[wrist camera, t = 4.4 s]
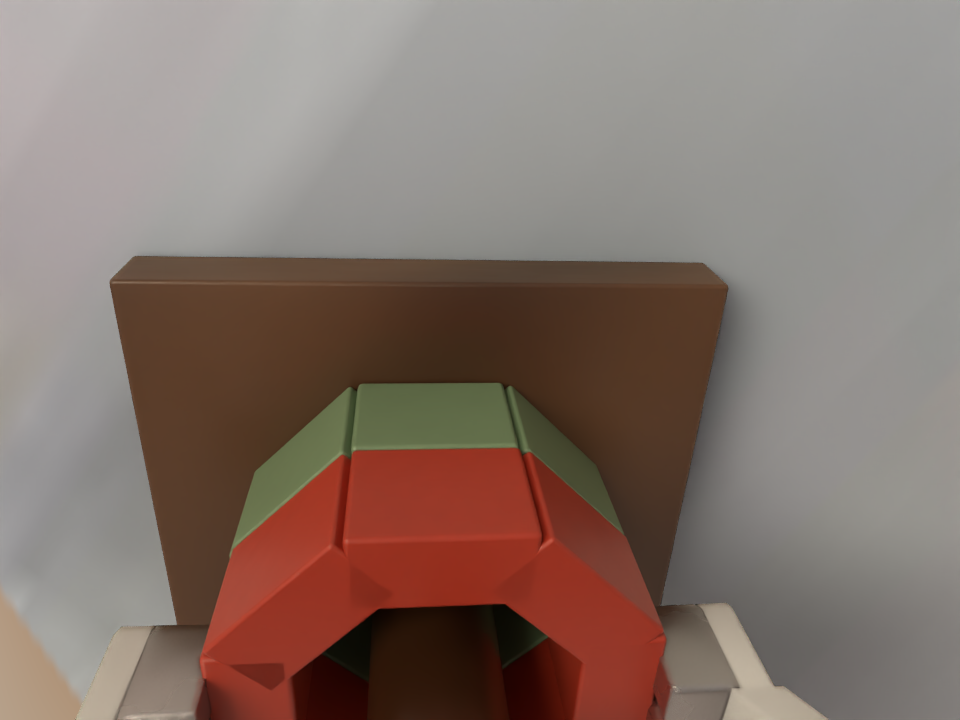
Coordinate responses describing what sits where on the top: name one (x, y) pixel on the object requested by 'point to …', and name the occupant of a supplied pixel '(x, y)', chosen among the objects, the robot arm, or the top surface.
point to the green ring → (421, 425)
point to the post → (410, 359)
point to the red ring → (433, 586)
